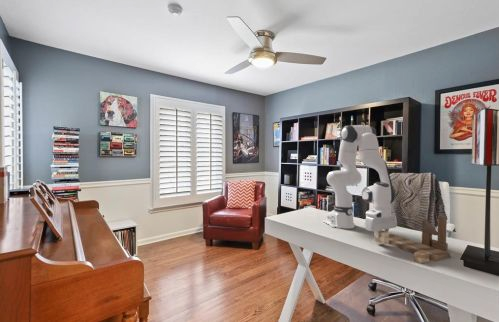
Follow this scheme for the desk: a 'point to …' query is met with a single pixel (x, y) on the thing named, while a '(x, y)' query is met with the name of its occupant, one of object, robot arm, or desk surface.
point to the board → (417, 247)
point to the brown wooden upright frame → (435, 233)
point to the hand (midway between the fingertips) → (381, 237)
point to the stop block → (421, 257)
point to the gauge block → (382, 237)
